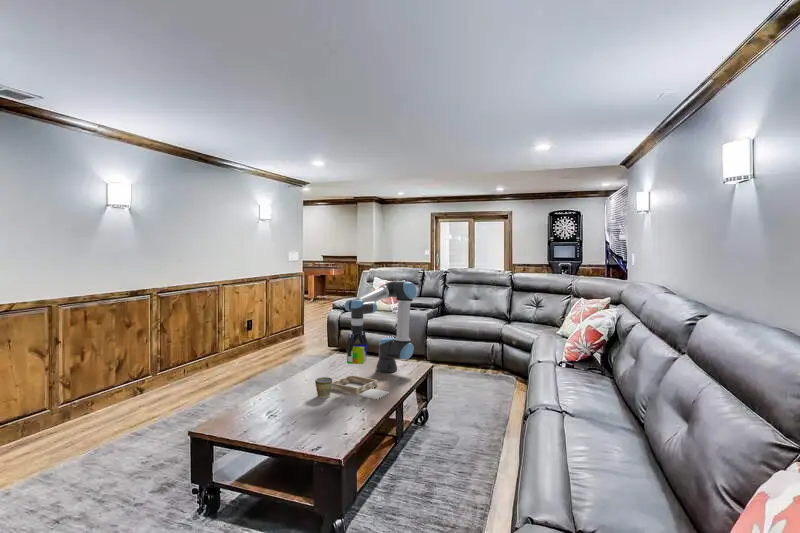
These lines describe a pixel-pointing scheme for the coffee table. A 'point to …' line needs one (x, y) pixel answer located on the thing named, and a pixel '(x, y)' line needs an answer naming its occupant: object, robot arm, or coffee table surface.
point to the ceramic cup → (323, 387)
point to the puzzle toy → (358, 354)
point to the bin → (341, 387)
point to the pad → (374, 393)
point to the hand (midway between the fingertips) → (356, 359)
